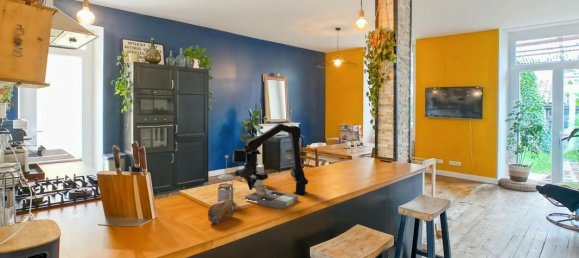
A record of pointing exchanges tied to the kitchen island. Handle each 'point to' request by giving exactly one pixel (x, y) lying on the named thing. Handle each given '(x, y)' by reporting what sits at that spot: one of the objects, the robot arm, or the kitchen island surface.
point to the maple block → (261, 190)
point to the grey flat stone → (221, 211)
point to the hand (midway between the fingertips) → (250, 189)
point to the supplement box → (260, 170)
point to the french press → (225, 186)
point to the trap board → (273, 199)
